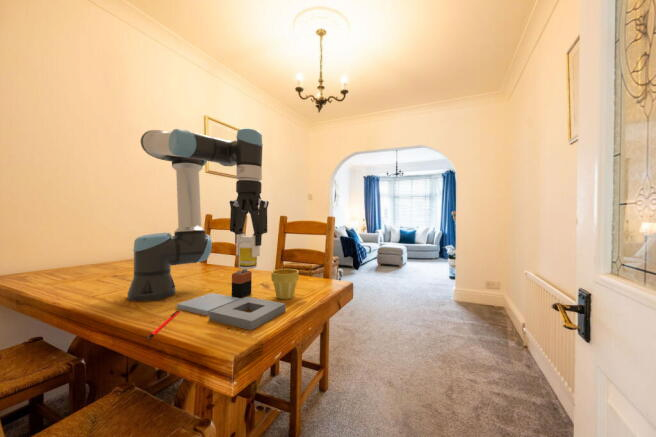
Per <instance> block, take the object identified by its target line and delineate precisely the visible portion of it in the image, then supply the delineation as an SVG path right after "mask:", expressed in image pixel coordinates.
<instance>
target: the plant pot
mask: <svg viewBox="0 0 656 437" xmlns="http://www.w3.org/2000/svg"><path fill="white" fill-rule="evenodd" d="M299 273H300V272H299V270H298V269H294V268H280V269H275V270H272V271H271V273H270V274H271V282H273V287H274V292H275V296H276V298H277V299H280V300H289V299H292V298H294V297H295V292H296V287H297V281H299V279H300V278H299V275H300V274H299Z"/></svg>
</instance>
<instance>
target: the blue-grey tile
mask: <svg viewBox="0 0 656 437" xmlns="http://www.w3.org/2000/svg"><path fill="white" fill-rule="evenodd" d="M237 300H240V298H237V297H232V295H231V296H230V295H226V294H225V295H224V294H220V293H215V292H210V293H207V294H204V295H202V296H197V297H195V298H192V299H187V300H186V301H182V302H179V303H177V304H176V309H177V310H183V311H187V312H190V313H193V314H194V313H195V314H200V315H203V316H208V317H209V311H211V310H214V309H217V308H219V307H222V306H224V305H227V304H229V303H232V302H235V301H237Z"/></svg>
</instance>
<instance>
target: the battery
mask: <svg viewBox="0 0 656 437" xmlns="http://www.w3.org/2000/svg"><path fill="white" fill-rule="evenodd" d="M252 276H253V274H252V271H250V270H248V269H241V270H236V272H233V273H232V274H231V297H237V298H240V299H242V298H245V297H249V296H250V295H252Z"/></svg>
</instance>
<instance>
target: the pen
mask: <svg viewBox="0 0 656 437" xmlns="http://www.w3.org/2000/svg"><path fill="white" fill-rule="evenodd" d="M180 312H181V311H180V310H175V312H173V314H171V315H170V317H169V318H168V319H166V320H165V321H164V322H162V323H161V325H159V326H158V328H156V329H155V330H154V331H153V332H152V333H150V334H149V336H148V338H147V340H150V339H151V338H153V337H155V336H156V335H157V334H158V333H159V332H160V331H161V330H162V329H163V328H165V327H166V325H167V324H169V323H170V322H171V321H172V320H174V318H175V317H176V316H178V315H179V313H180Z"/></svg>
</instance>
